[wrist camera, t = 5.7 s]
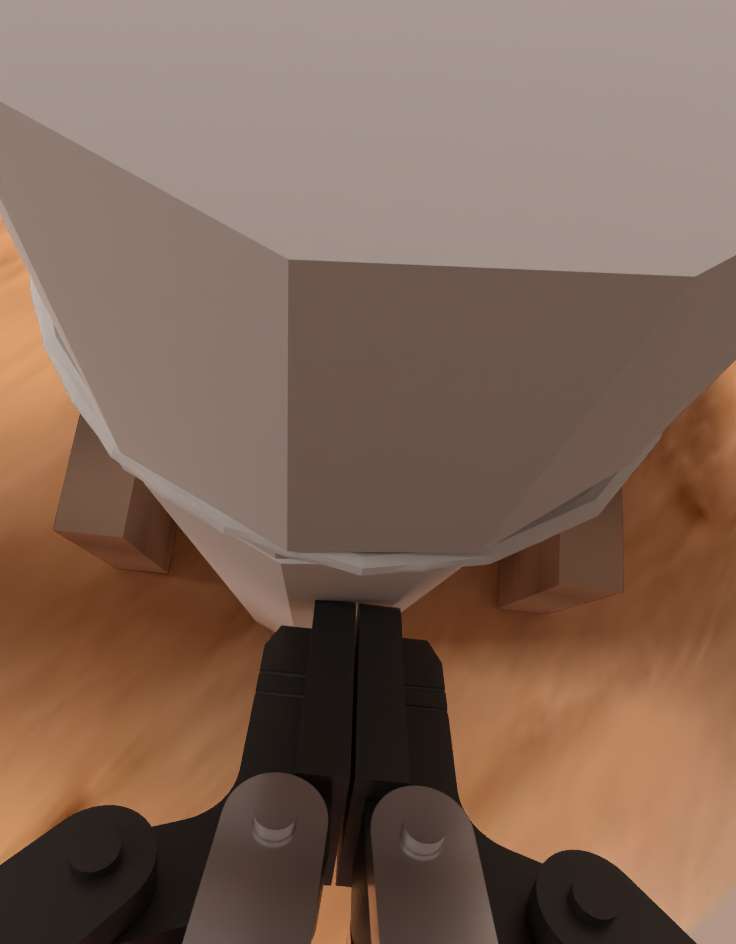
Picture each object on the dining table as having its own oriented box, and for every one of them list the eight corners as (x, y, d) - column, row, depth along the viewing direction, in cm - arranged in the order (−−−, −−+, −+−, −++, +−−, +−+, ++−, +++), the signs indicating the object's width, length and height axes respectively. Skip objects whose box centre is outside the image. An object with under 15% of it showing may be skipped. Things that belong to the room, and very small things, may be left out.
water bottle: (327, 700, 26) (562, 887, 2) (186, 552, 27) (-672, -389, 3) (487, 531, 28) (1425, -252, 5) (351, 402, 30) (542, -760, 6)
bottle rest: (547, 613, 28) (623, 591, 21) (115, 568, 27) (52, 530, 20) (557, -44, 38) (610, -197, 32) (250, -93, 37) (238, -261, 31)
